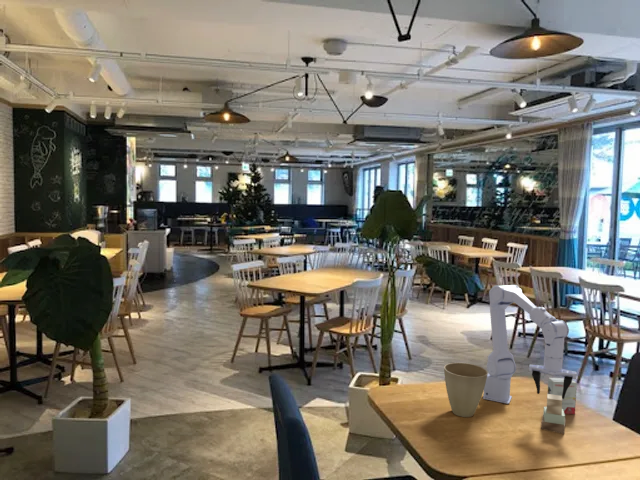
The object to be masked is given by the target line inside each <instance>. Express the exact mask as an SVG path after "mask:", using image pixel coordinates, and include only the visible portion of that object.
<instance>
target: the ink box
mask: <svg viewBox="0 0 640 480" xmlns="http://www.w3.org/2000/svg"><path fill="white" fill-rule="evenodd" d="M563 385H564V377H563V378H562V377H548V380H547V392H546V393H547V394H552V395H559V396H562V394H563ZM577 388H578V383H577V382H576V381H575V379H572V383H571V384H570V386H569V387H568V389H567V391H566V394H565V398H564V399H562V409H563V411H564V414H565V415H575V414H576V405H577V404H576V402H577Z"/></svg>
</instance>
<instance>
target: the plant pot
mask: <svg viewBox="0 0 640 480" xmlns="http://www.w3.org/2000/svg"><path fill="white" fill-rule="evenodd" d="M443 371H444V381H445V382H444V383H445V387H446V388H445V389H446V394H447V398H448V401H449V406H450V408H451V410H452V411H451V412H452V413H453V414H454V415H456V416H458V417H463V418H471V417H473V416H474V415H475V413H476V410H477V408H478V406H479V404H480V402H481V399H482V398H483V397H482V396H483V394H484V387H485V383H486V379H487V375H488V374H489V373H488V371H487V369H485V368H484V367H482V366H480V365H477V364H472V363H467V362H451V363H447V364H445V365H444V366H443Z"/></svg>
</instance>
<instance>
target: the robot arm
mask: <svg viewBox="0 0 640 480" xmlns="http://www.w3.org/2000/svg"><path fill="white" fill-rule="evenodd" d="M488 292H489V293H488V294H489V296H488V297H489V313H490V314H489V315H490V324H491V325H490V326H491V329H490V330H491V340H492V351H491V352H490V353H489V354H488V356H487V362H486V370H487V372H488V375H487V379H486V383H485V387H484V391H483V394H482V396H483V397H482V399H483V400H488V401H492V402H497V403H502V404H506V405H509V404H510V402H511V401H512V398H513V396H512V395H510V394H511V383H512V381H511V380H512V377H513V374H515V373H516V372H517V364H516V362H515V358H514V355H513V353H511V352H510V350H509V346H508V344H509V343H508V333H507V321H506V320H507V319H506V309H507V308H508V307H509V306H510V305H511V304H513V303H514V304H516V305H517V306H518V307H519V308H521V309H522V310H524V311H525V312H526V313H528V314H529V319H530V320H531V321H532V322H533V323H534V324H536V325H537V326H538V328H540V329H541V332H542V335H543V341H544V353H543V365H540V364H532V363H530V364H529V366H528V371H529V372H532V373H531V376H532V379H533V381H534V384H535V387H536V394H537V395H540V392H541V377H542V376H541V375H542V374H546V375H552V376H558V377H563V378H564V385H563V394H562V399H564V398H565V394H566V391H567V389H568V387H569V386H570V384H571V383H572V379H573V380H577V371H572V370H569V369H565V368H563V361H564V360H563V359H564V347H565V338H567V336H568V335H569V331H570V328H569V325H568V324H567V323H566V322H565V321H564V320H562V319H558V318H557V319H556V317H555V316H554V315H552V314H551V313H549V312H548V311H547V308H546V307H542V306H536V305H535V304H534V303H533V302H532V301H531V300H530V299H529V298H528V297H527V296H526V295H525V294H524V293H523V289H522V288H520V287H519V285H517V284H509V285H508V284H507V285H498V284H497V285H493V286H492V287H491V289H490V290H489V291H488Z"/></svg>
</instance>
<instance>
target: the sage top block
mask: <svg viewBox="0 0 640 480" xmlns="http://www.w3.org/2000/svg"><path fill="white" fill-rule="evenodd" d="M543 416H544V421H545V422H549V423H556V424H562V425H564V424H565V425H566V414H564V411H563V409H562V415H557V414H550V413H547V406H543V412H542V417H543Z"/></svg>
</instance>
